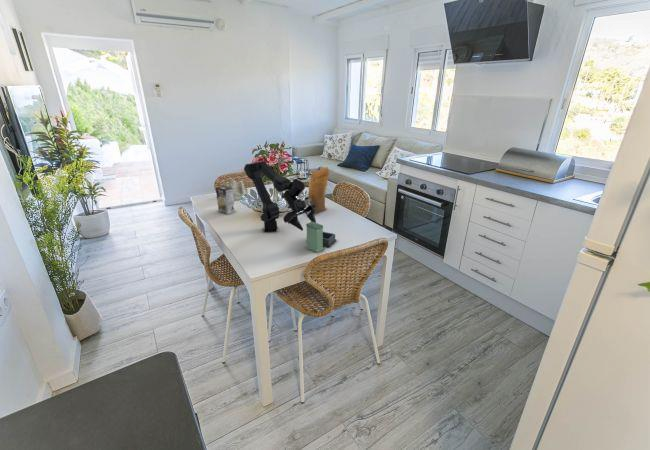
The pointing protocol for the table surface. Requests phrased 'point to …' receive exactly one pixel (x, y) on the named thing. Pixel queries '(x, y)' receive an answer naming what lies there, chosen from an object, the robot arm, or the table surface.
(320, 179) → the pancake mix bag
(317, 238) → the green box
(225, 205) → the coffee box
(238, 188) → the ceramic cottage
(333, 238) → the dark grey open box
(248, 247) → the table surface
